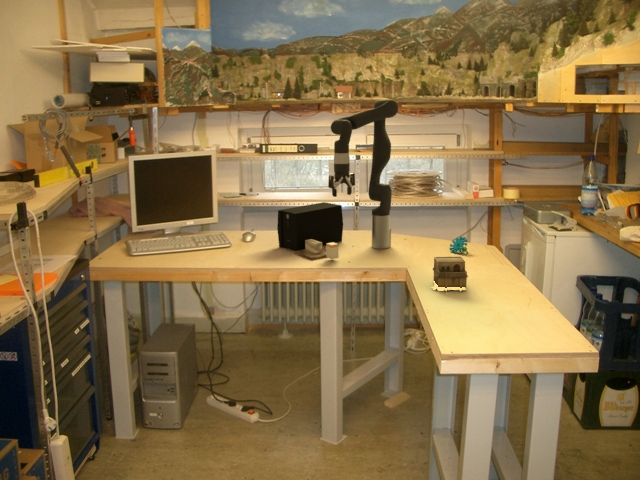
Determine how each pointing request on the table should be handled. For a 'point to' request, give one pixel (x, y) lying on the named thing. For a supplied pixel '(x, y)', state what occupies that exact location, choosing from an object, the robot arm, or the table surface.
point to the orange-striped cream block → (332, 250)
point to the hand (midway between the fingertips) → (342, 195)
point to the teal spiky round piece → (459, 245)
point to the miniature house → (450, 272)
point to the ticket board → (311, 255)
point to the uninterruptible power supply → (309, 225)
